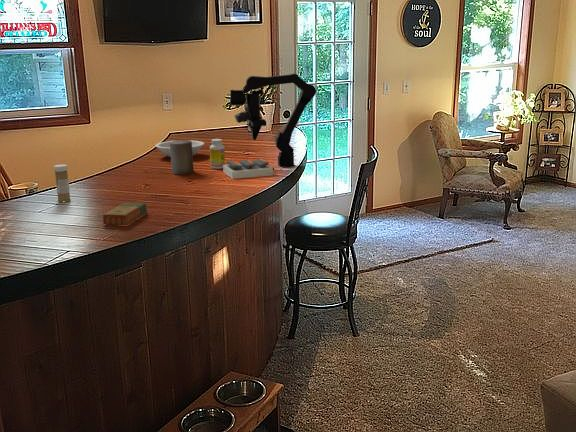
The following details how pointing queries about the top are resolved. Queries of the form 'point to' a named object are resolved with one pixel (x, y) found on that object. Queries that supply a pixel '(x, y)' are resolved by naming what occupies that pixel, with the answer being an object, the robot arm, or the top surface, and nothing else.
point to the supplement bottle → (217, 154)
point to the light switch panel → (247, 171)
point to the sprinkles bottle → (62, 182)
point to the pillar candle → (181, 157)
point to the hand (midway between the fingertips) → (254, 139)
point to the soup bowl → (165, 147)
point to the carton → (124, 214)
